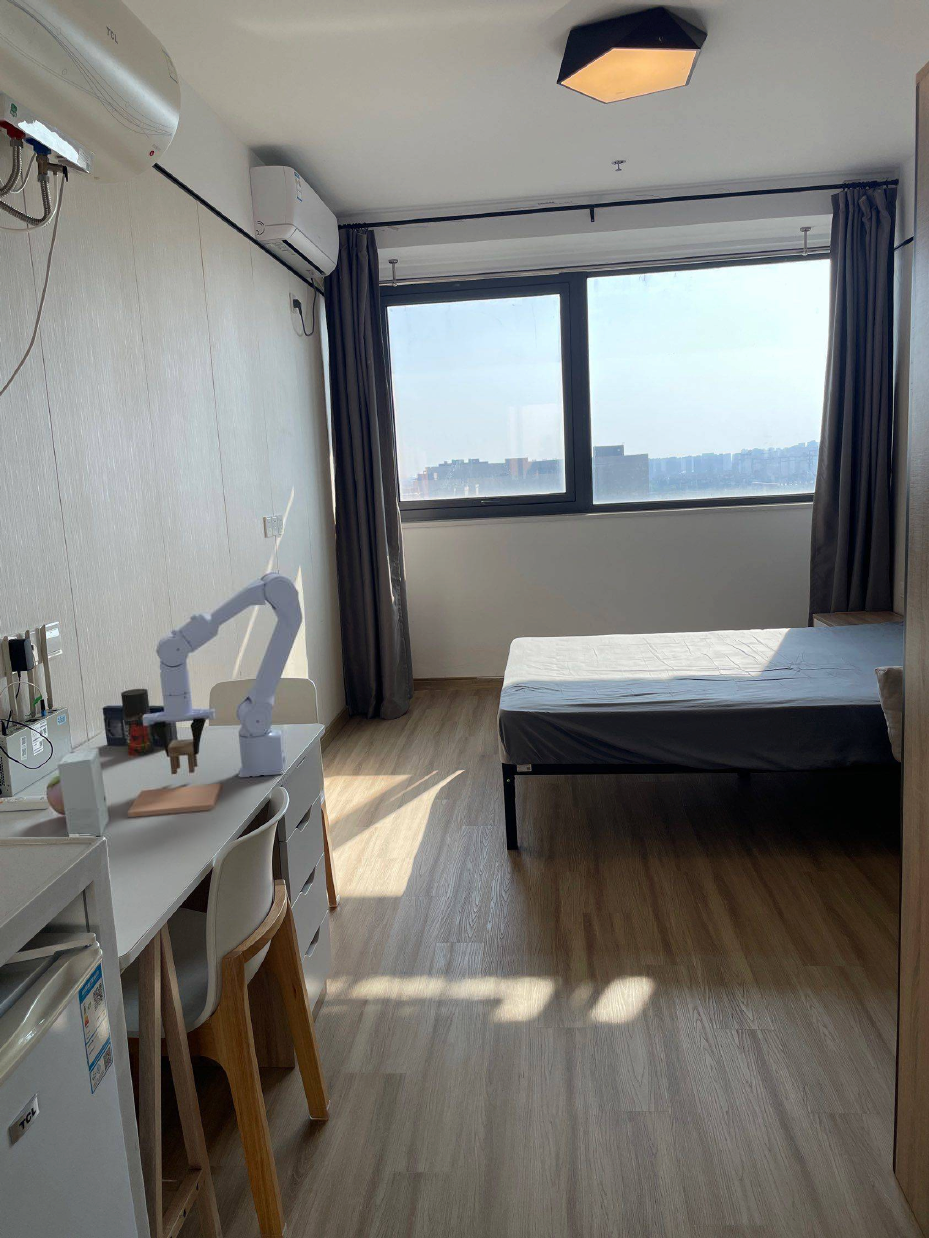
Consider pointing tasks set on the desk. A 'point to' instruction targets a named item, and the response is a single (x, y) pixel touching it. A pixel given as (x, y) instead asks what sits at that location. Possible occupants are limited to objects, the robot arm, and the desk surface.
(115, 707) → the vhs cassette tape
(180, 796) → the mat
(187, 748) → the stool
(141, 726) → the deodorant
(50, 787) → the decorative fruit
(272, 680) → the robot arm
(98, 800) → the skincare box
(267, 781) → the desk surface
